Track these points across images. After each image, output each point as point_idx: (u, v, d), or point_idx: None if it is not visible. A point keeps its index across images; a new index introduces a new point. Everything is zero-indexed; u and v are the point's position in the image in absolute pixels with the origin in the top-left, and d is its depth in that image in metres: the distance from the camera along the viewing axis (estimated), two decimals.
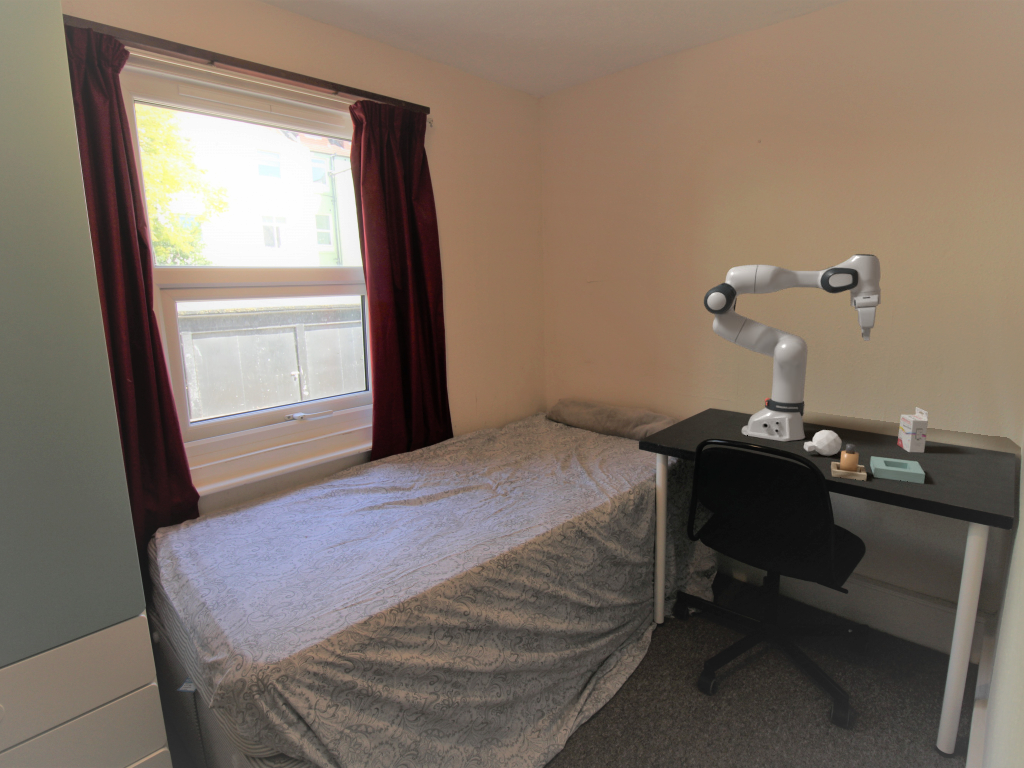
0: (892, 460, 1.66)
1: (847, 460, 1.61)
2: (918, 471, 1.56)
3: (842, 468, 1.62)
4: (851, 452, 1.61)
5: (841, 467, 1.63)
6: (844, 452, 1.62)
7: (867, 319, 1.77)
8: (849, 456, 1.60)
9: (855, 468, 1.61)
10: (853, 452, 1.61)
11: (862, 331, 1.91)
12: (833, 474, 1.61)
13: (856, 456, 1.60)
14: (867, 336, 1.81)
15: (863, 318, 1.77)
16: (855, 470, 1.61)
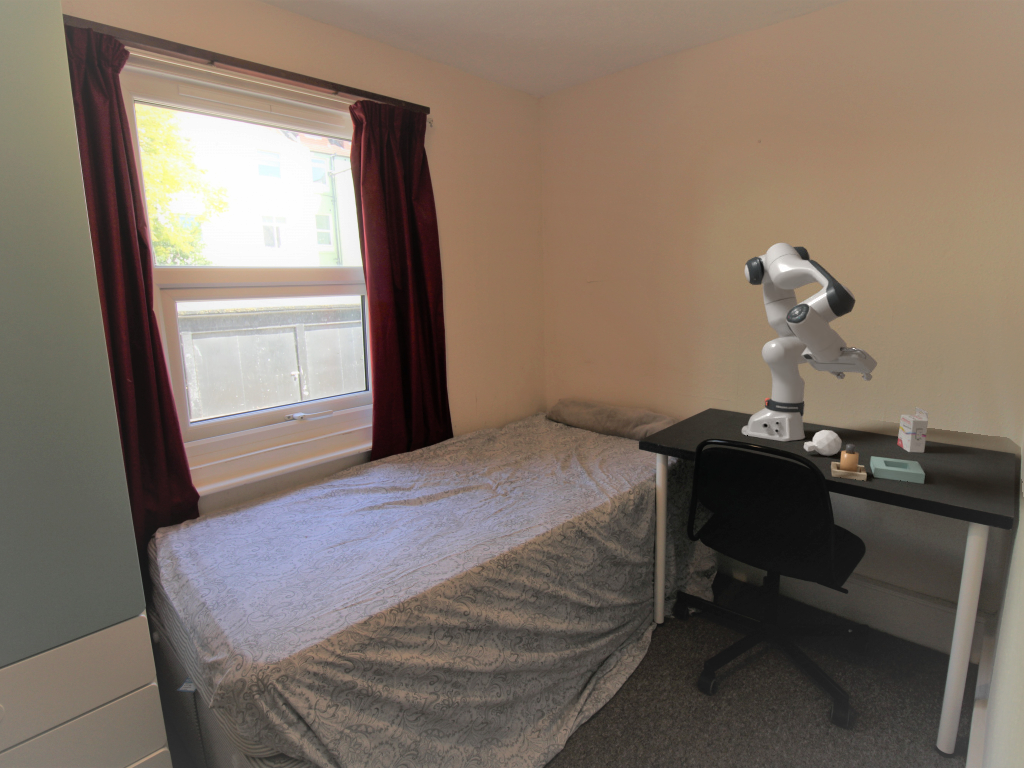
0: (892, 460, 1.66)
1: (847, 460, 1.61)
2: (918, 471, 1.56)
3: (842, 468, 1.62)
4: (851, 452, 1.61)
5: (841, 467, 1.63)
6: (844, 452, 1.62)
7: None
8: (849, 456, 1.60)
9: (855, 468, 1.61)
10: (853, 452, 1.61)
11: (867, 372, 1.55)
12: (833, 474, 1.61)
13: (856, 456, 1.60)
14: None
15: None
16: (855, 470, 1.61)
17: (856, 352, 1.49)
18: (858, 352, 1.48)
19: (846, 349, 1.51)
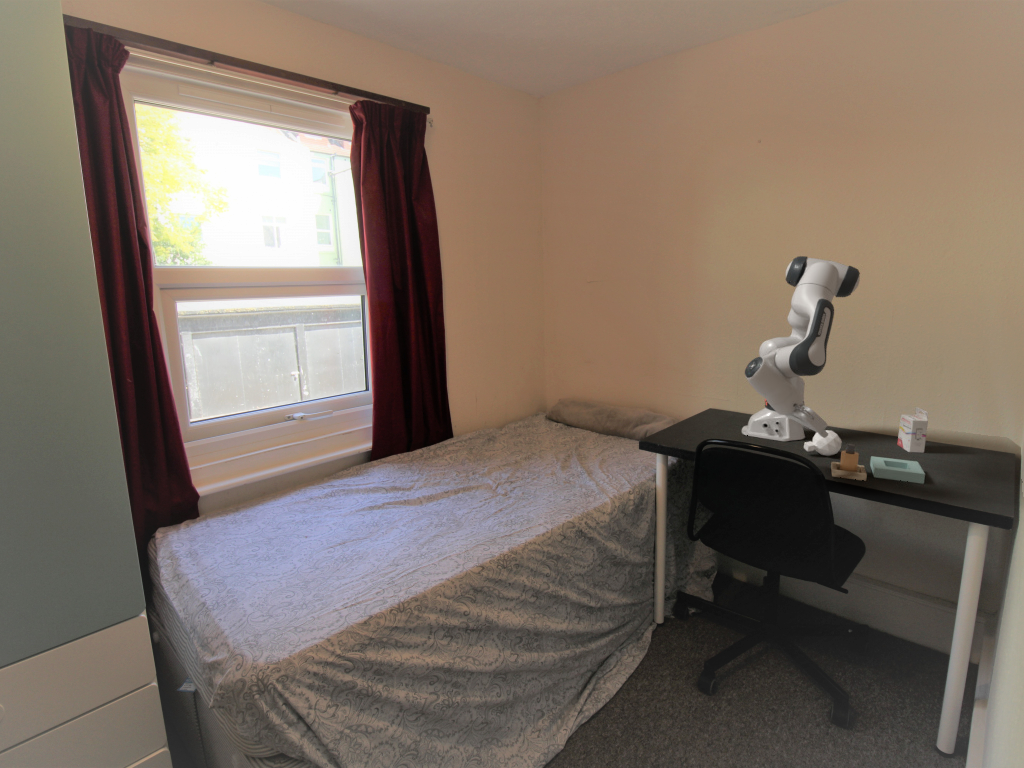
0: (892, 460, 1.66)
1: (847, 460, 1.61)
2: (918, 471, 1.56)
3: (842, 468, 1.62)
4: (851, 452, 1.61)
5: (841, 467, 1.63)
6: (844, 452, 1.62)
7: None
8: (849, 456, 1.60)
9: (855, 468, 1.61)
10: (853, 452, 1.61)
11: (823, 429, 1.56)
12: (833, 474, 1.61)
13: (856, 456, 1.60)
14: None
15: None
16: (855, 470, 1.61)
17: (804, 412, 1.51)
18: (805, 412, 1.51)
19: (797, 407, 1.54)
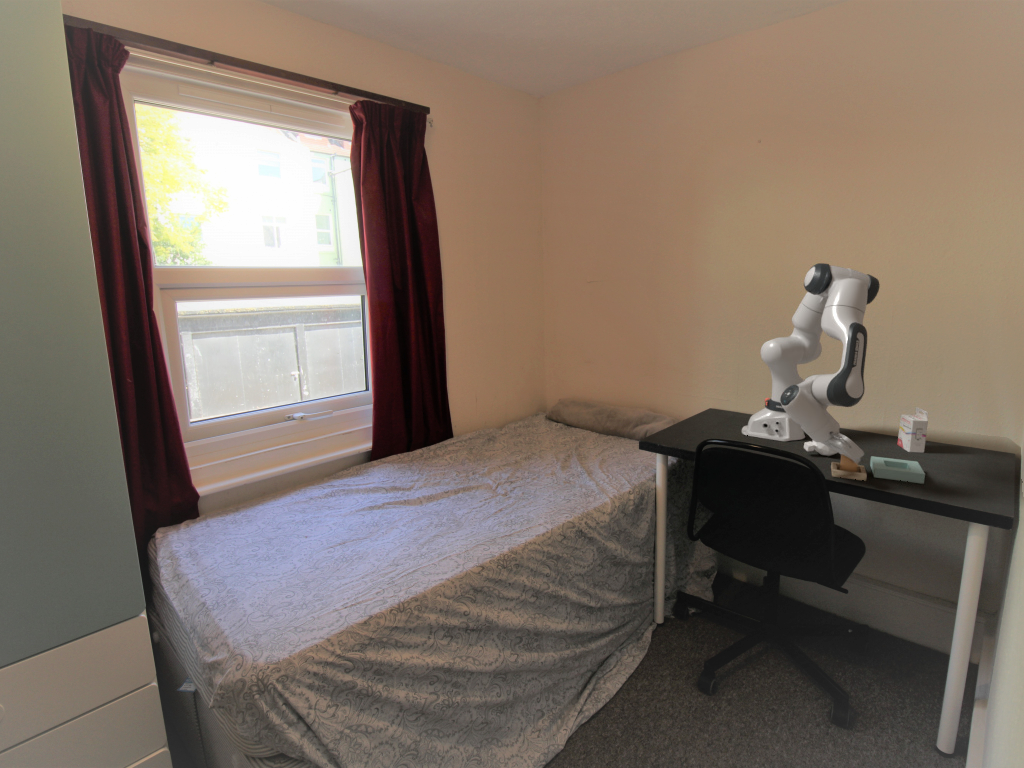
0: (892, 460, 1.66)
1: (847, 460, 1.61)
2: (918, 471, 1.56)
3: (842, 468, 1.62)
4: None
5: (841, 467, 1.63)
6: None
7: None
8: None
9: (855, 468, 1.61)
10: None
11: None
12: (833, 474, 1.61)
13: None
14: None
15: None
16: (855, 470, 1.61)
17: (841, 441, 1.52)
18: (842, 441, 1.52)
19: (833, 435, 1.55)
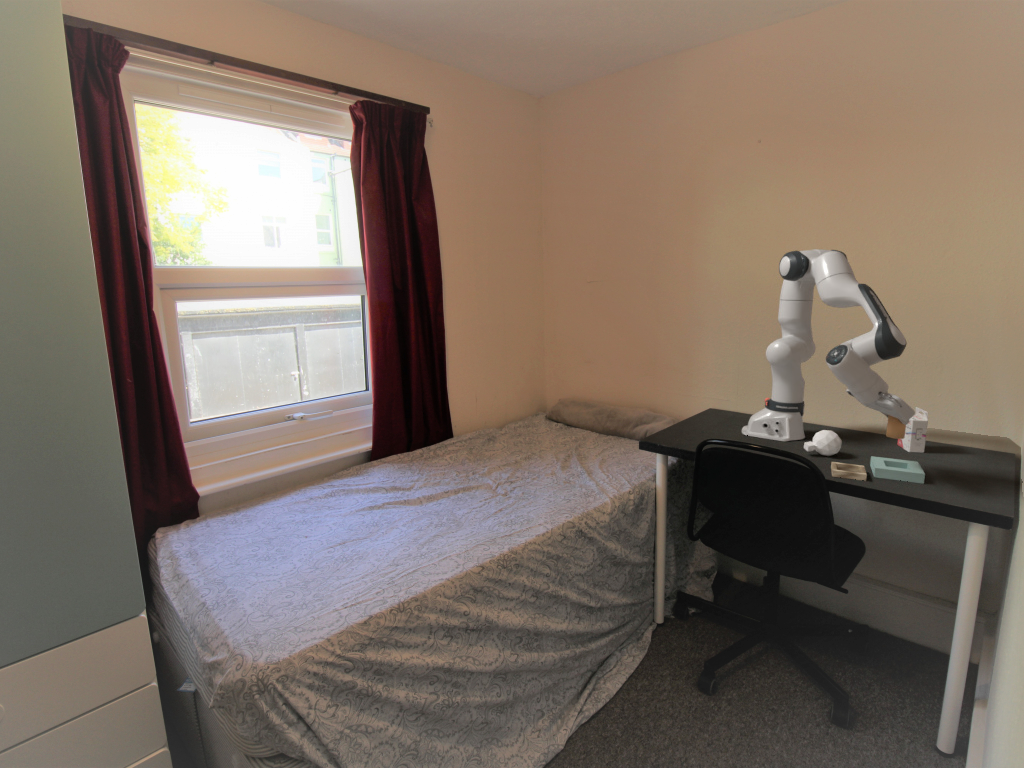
0: (892, 460, 1.66)
1: (895, 422, 1.58)
2: (918, 471, 1.56)
3: (889, 430, 1.59)
4: None
5: (888, 429, 1.60)
6: None
7: None
8: None
9: (903, 430, 1.58)
10: None
11: None
12: (833, 474, 1.61)
13: None
14: None
15: None
16: (903, 432, 1.58)
17: (891, 400, 1.49)
18: (893, 400, 1.49)
19: (883, 395, 1.52)
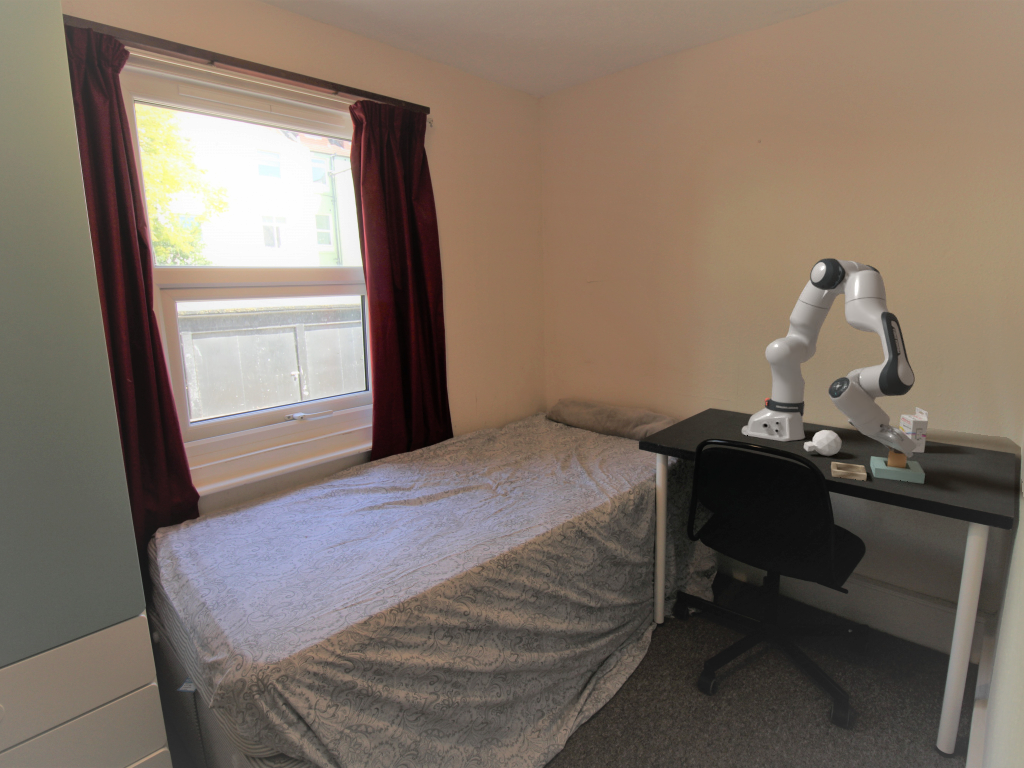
0: None
1: (896, 460, 1.60)
2: (918, 471, 1.56)
3: None
4: (899, 452, 1.60)
5: None
6: (892, 452, 1.62)
7: None
8: (897, 455, 1.60)
9: None
10: (901, 452, 1.60)
11: None
12: (833, 474, 1.61)
13: (905, 456, 1.59)
14: None
15: None
16: None
17: (893, 433, 1.51)
18: (895, 434, 1.51)
19: (885, 428, 1.54)
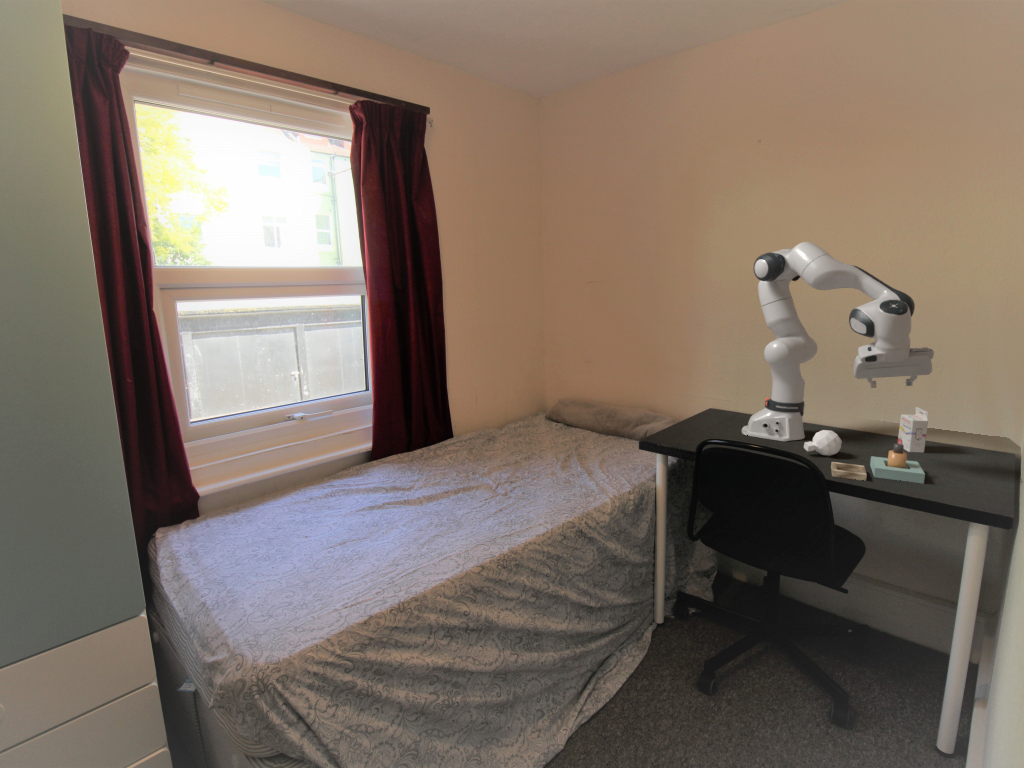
0: None
1: (896, 460, 1.60)
2: (918, 471, 1.56)
3: None
4: (899, 452, 1.60)
5: None
6: (892, 452, 1.62)
7: (854, 368, 1.70)
8: (897, 455, 1.60)
9: None
10: (901, 452, 1.60)
11: (910, 378, 1.66)
12: (833, 474, 1.61)
13: (905, 456, 1.59)
14: (870, 384, 1.71)
15: (854, 365, 1.70)
16: None
17: (927, 352, 1.58)
18: (930, 352, 1.58)
19: (917, 349, 1.59)
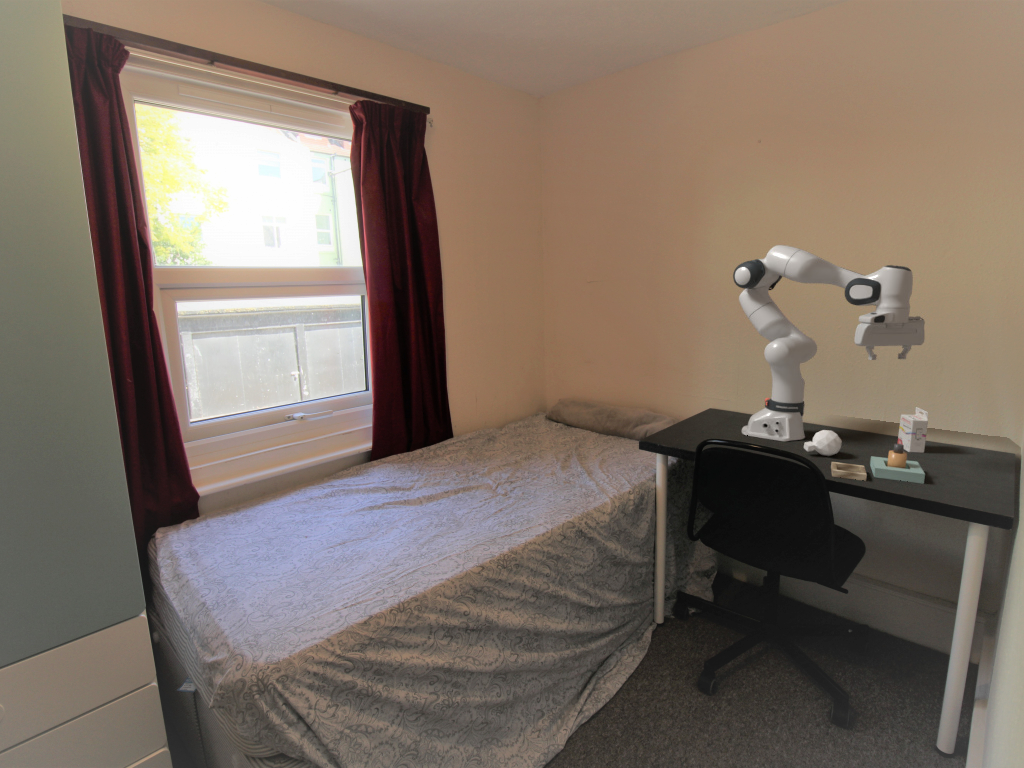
0: None
1: (896, 460, 1.60)
2: (918, 471, 1.56)
3: None
4: (899, 452, 1.60)
5: None
6: (892, 452, 1.62)
7: (858, 336, 1.69)
8: (897, 455, 1.60)
9: None
10: (901, 452, 1.60)
11: (902, 352, 1.70)
12: (833, 474, 1.61)
13: (905, 456, 1.59)
14: (870, 355, 1.69)
15: (856, 334, 1.70)
16: None
17: (920, 321, 1.67)
18: (922, 321, 1.67)
19: (912, 317, 1.67)
